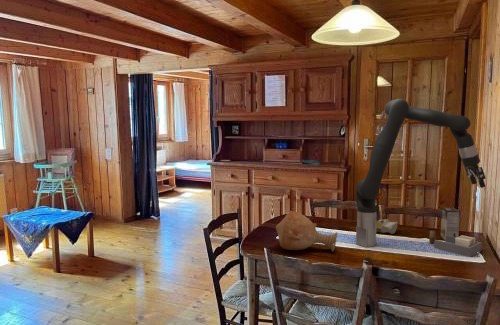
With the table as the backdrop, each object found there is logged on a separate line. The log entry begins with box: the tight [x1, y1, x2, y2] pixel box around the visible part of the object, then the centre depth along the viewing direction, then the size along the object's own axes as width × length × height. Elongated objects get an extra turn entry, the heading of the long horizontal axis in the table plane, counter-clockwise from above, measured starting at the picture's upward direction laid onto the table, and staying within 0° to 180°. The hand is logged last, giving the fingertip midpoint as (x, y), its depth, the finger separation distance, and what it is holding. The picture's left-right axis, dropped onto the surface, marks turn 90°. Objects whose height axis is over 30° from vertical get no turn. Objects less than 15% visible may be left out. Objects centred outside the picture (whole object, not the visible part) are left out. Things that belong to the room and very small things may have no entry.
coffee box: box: [440, 206, 460, 242], centre depth 192 cm, size 9×6×16 cm
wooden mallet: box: [428, 230, 476, 247], centre depth 179 cm, size 7×20×6 cm, turn 37°
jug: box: [275, 210, 338, 253], centre depth 180 cm, size 20×19×30 cm
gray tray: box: [434, 235, 483, 258], centre depth 176 cm, size 13×16×4 cm
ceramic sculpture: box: [376, 217, 398, 235], centre depth 207 cm, size 11×9×15 cm
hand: (478, 185), depth 182 cm, fingers open, 8 cm apart
